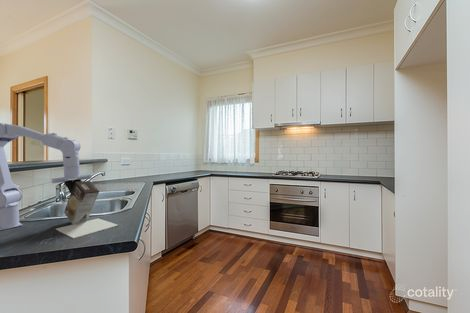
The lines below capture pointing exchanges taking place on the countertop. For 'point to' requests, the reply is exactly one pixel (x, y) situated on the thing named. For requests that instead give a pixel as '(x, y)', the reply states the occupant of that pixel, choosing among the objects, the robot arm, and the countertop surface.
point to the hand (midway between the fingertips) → (74, 196)
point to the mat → (86, 228)
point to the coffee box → (81, 202)
